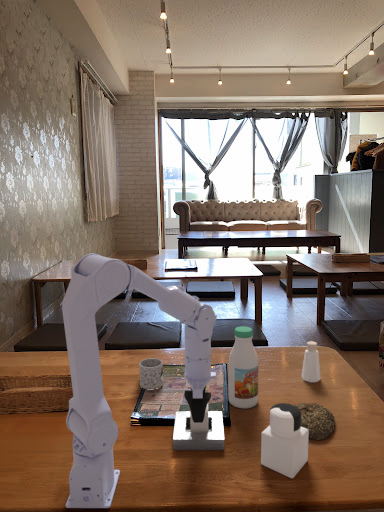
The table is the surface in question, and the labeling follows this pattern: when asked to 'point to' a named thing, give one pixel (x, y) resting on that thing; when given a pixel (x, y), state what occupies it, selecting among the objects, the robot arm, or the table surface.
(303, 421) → the bread roll
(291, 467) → the medicine bottle
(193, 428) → the plug
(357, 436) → the table surface
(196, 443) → the socket
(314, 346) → the salt shaker
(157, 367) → the mug
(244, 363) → the milk bottle
